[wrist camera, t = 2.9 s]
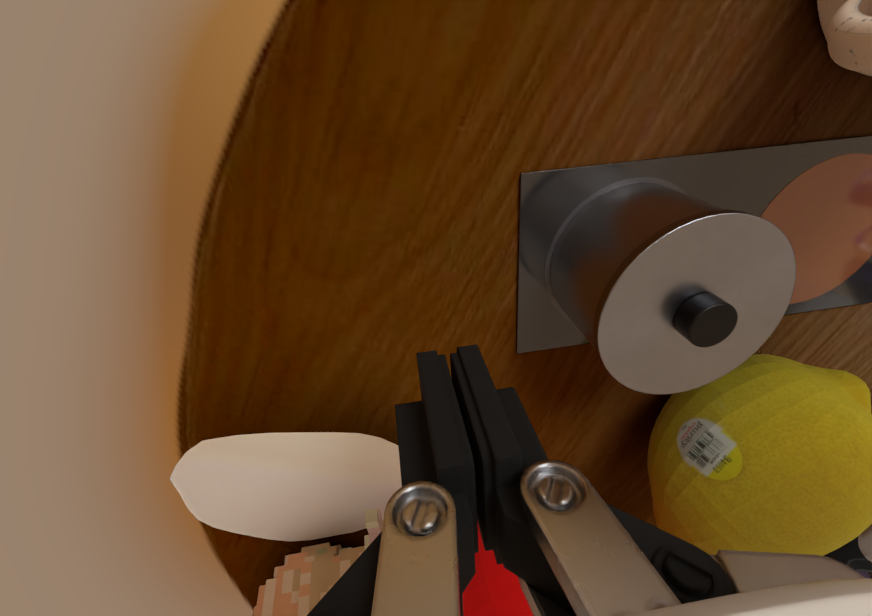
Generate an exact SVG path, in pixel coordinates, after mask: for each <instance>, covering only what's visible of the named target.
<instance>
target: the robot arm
mask: <svg viewBox="0 0 872 616" xmlns="http://www.w3.org/2000/svg"><path fill="white" fill-rule="evenodd" d="M450 362H451V376H452V379H451V376H450V372H449V368H448V365H447V361H446V358H445V355H437V352H436V350H435V351H427V352H420V353H417V363H418V371H419V380H420V389H421V397H422V401H418V402H411V403H405V404H398V405H395V411H396V423H397V435H398V447H399V459H400V471H401V483H402V487H401V488H400V489H399V490H397V491H396V492H395V493H394V494H393V495H392V496H391V498H390V499H389V501H388V502H387V505H386V509H385V512H384V520H383V528H382V532H381V533H380V534H379V535H378V536H377V537H376V538H375V539H374V541H373V542H372V543H371V544H370V545H369V546H368V547H367V548H366V550H365V551H364V552H363V553H362V554H361V555H360V556H359V557H358V559H357V560H356V561H355V562H354V563H353V564H352V565H351V566H350V567H349V569H348V570H347V571H346V572H345V573H344V574H343V575H342V576H341V578H340V579H339V580H338V581H337V582H336V583H335V584H334V585H333V587H332V588H331V589H330V590H329V591H328V592H327V593H326V594H325V595H324V597H323V598H322V599H321V600H320V601H319V602H318V603H317V604H316V606H315V607H314V608H313V609H312V610H311V611H310V612H309V613H308V615H307V616H464V612H463V592H464V590H465V589H466V587H467V586H468V584H469V583H470V581H471V580H472V578H473V576H474V575H475V573H476V567H475V553H478V552H479V546H478V525H479V529H480V533H481V537H482V541H483V545H484V548H485V551H489V550H493V551H494V555H495V559H496V562H497V564H503V566H504V568H506V569H507V570H509V571H510V572H512V573H513V574H515V575H516V576H518V579H519V583H520V586H521V589H522V591H523V594H524V596H525V598H526V600H527V602H528V604H529V607H530V609H531V611H532V613H533V615H534V616H872V579H869V578H865V577H864V576H862V575H861V574H859V573H858V572H857V571H855V570H854V569H852V568H851V567H850V566H848V565H846V564H844V563H842V562H839V561H837V560H835V559H833V558H830V557H825V556H820V555H812V554H792V553H772V552H753V551H733V550H718V552H717V554H716V555H709V554H708V553H706V552H704V551H703V550H701V549H699V548H698V547H696V546H695V545H692V544H690V543H688V542H686V541H684V540H682V539H680V538H678V537H676V536H674V535H672V534H669V533H667V532H665V531H663V530H661V529H659V528H657V527H655V526H653V525H651V524H649V523H646V522H644V521H642V520H640V519H638V518H636V517H634V516H632V515H630V514H628V513H625V512H623V511H621V510H619V509H617V508H615V507H613V506H611V505H609V504H607V503H605V502H604V500H603V499H602V498H601V496H600V495H599V494H598V492H597V491H596V490H595V488H594V487H593V486H592V484H591V483H590V482H589V480H588V479H587V478H586V477H585V476H584V475H583V474H582V473H581V472H580V470H578V469H577V468H575V467H573V466H572V465H570V464H568V463H565V462H562V461H557V460H548V458H547V456H546V454H545V452H544V450H543V447H542V445H541V443H540V441H539V439H538V437H537V435H536V433H535V431H534V429H533V426H532V424H531V422H530V420H529V418H528V416H527V414H526V412H525V410H524V408H523V405H522V403H521V401H520V399H519V397H518V395H517V393H516V391H515V389H514V388H512V387H510V388H504V389H497V390H496V389H495V386H494V384H493V382H492V379H491V377H490V374H489V372H488V370H487V367H486V365H485V362H484V360H483V358H482V355H481V353H480V350H479V348H478V346H477V345H470V346H463V347H457V353H451V354H450ZM477 521H478V525H477Z"/></svg>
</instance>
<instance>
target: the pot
mask: <svg viewBox="0 0 872 616" xmlns="http://www.w3.org/2000/svg"><path fill="white" fill-rule="evenodd" d="M550 280H551V286H552V290H553V294H554V297H555V299H556V300H557V302H558V304H559V305H560V307H561V308H562V310H563V311H564V312H565V313H566V314H567V316H568V317H569V318H570V319H571V321H572V322H573V323H574V324H575V325H576V327H577V328H578V329H579V330H580V331H581V333H582V334H583V335H584V336H585V338H586V339H587V340H588V341H589V342H590V344H591V345H592V346H593V347H594V348H595V350H596V353H597V355H598V358H599V360H600V362H601V363H602V365H603V366H604V367H605V369H606V370H607V371H608V372H609V374H610V375H611V376H612V377H613V378H614V379H615V380H616V381H618V382H619V383H621V384H622V385H624V386H625V387H628V388H630V389H632V390H635V391H638V392H642V393H647V394H674V393H680V392H685V391H689V390H692V389H695V388H699V387H701V386H704V385H706V384H709V383H711V382H713V381H715V380H717V379H719V378H721V377H723V376H724V375H726V374H727V373H729V372H731V371H732V370H734V369H735V368H737V367H738V366H739V365H741V364H742V363H743V362H745V361H746V360H747V359H748V358H749V357H750V356H752V355H753V354H754V353H755V352H756V351H757V350H758V349H759V348H760V347H761V346H762V345H763V344H764V343H765V341H766V340H767V339H768V338H769V337H770V335H771V334H772V333H773V331H774V330H775V329H776V327H777V326H778V324H779V323H780V321H781V319H782V317H783V316H784V314H785V312H786V310H787V307H788V305H789V303H790V301H791V297H792V294H793V291H794V286H795V281H796V260H795V255H794V252H793V248H792V246H791V244H790V242H789V240H788V238H787V237H786V235H785V234H784V233H783V232H782V231H781V230H780V229H779V228H778V227H777V226H776V225H774V224H773V223H772V222H770V221H768V220H766V219H764V218H762V217H760V216H757V215H754V214H751V213H747V212H744V211H739V210H728V209H727V210H726V209H723V208H721V207H718V206H715V205H713V204H710V203H708V202H705V201H703V200H700V199H697V198H695V197H692V196H690V195H687V194H684V193H682V192H679V191H677V190H674V189H671V188H669V187H666V186H663V185H659V184H653V183H635V184H629V185H625V186H622V187H618V188H615V189H613V190H611V191H608V192H606V193H604V194H602V195H601V196H599V197H597V198H596V199H594V200H593V201H591V202H590V203H589V204H587V205H586V206H585V207H584V208H583V209H582V210H581V211H580V212H579V213H577V214H576V216H575V217H574V218H573V219H572V220H571V221H570V223H569V224H568V226H567V227H566V228H565V230H564V231H563V233H562V235H561V237H560V239H559V240H558V243H557V245H556V248H555V250H554V254H553V257H552V262H551V270H550Z"/></svg>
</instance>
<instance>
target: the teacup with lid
mask: <svg viewBox="0 0 872 616" xmlns="http://www.w3.org/2000/svg"><path fill="white" fill-rule="evenodd" d="M817 6H818V14H819V19H820V23H821V27H822V30H823V33H824V36H825V38H826V40H827V42H828V51H829V54H830V57H831V58H832V60H833V61H834V62H835V63H836V64H838V65H839V66H841V67H843V68H846V69H848V70H852V71H856V72H859V73H861V74H864V75H868V76H872V0H817Z"/></svg>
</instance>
